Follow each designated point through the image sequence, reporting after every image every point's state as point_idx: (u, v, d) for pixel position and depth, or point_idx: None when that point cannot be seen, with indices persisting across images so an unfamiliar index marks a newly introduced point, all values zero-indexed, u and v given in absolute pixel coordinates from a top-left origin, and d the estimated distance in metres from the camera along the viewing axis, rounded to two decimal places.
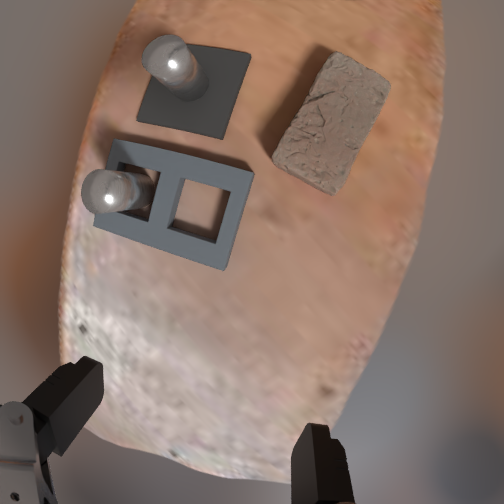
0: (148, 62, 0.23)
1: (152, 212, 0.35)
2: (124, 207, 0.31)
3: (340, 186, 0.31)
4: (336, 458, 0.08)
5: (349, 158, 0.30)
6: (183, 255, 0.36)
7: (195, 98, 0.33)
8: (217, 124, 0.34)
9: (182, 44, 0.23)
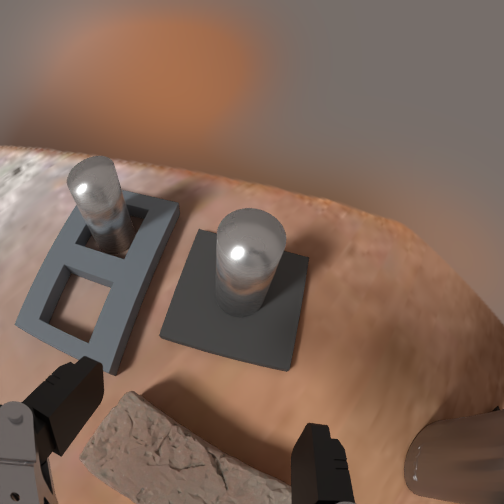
0: (239, 217, 0.21)
1: (83, 248, 0.28)
2: (79, 210, 0.25)
3: (87, 466, 0.16)
4: (336, 458, 0.08)
5: (123, 489, 0.15)
6: (35, 281, 0.25)
7: (217, 300, 0.27)
8: (178, 330, 0.26)
9: (264, 261, 0.19)
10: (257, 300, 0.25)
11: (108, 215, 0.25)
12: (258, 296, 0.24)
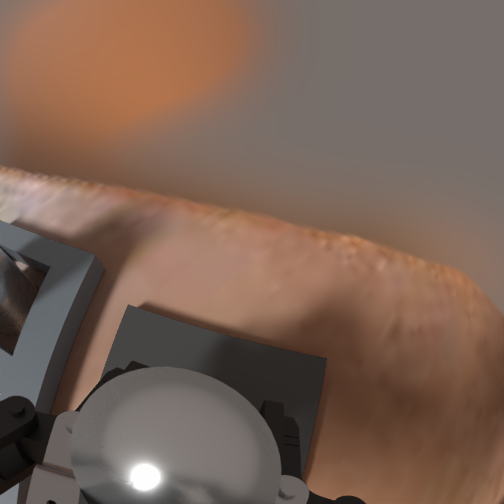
0: (130, 402, 0.05)
1: None
2: None
3: None
4: (288, 435, 0.09)
5: None
6: None
7: None
8: None
9: None
10: None
11: None
12: None
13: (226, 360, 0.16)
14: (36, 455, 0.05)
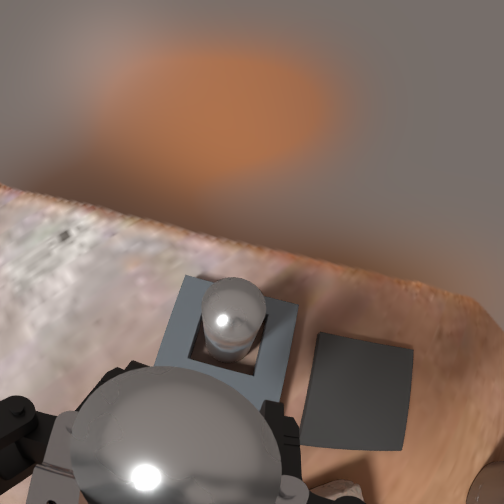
0: (130, 401, 0.05)
1: (200, 364, 0.26)
2: (208, 337, 0.23)
3: None
4: (288, 435, 0.09)
5: None
6: None
7: None
8: (315, 437, 0.24)
9: None
10: None
11: (249, 343, 0.23)
12: None
13: (372, 355, 0.29)
14: (36, 455, 0.05)
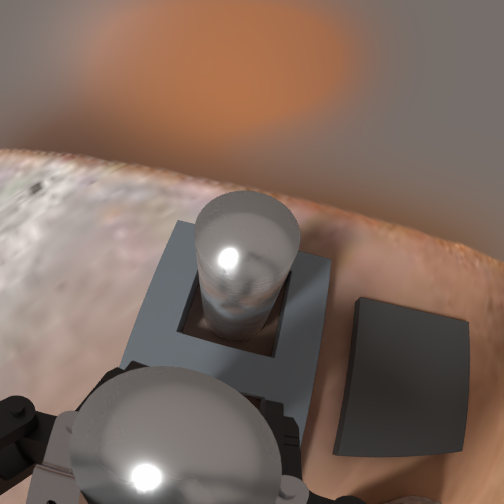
0: (130, 401, 0.05)
1: (195, 341, 0.18)
2: (206, 292, 0.15)
3: None
4: (288, 435, 0.09)
5: None
6: None
7: None
8: (360, 443, 0.16)
9: None
10: None
11: (270, 301, 0.15)
12: None
13: (425, 328, 0.21)
14: (36, 455, 0.05)
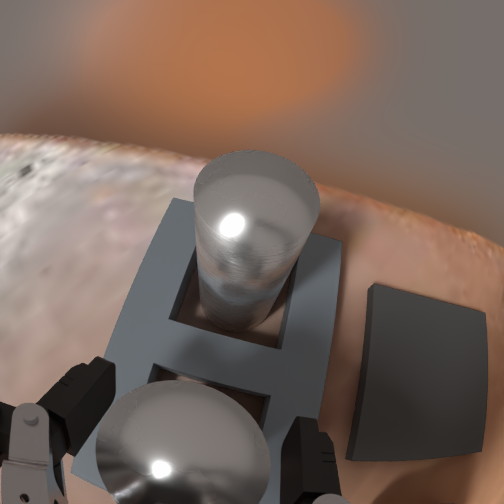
0: (147, 409, 0.07)
1: (190, 330, 0.16)
2: (206, 269, 0.13)
3: None
4: (324, 451, 0.08)
5: None
6: None
7: None
8: (377, 446, 0.14)
9: None
10: None
11: (280, 281, 0.13)
12: None
13: (443, 318, 0.19)
14: None
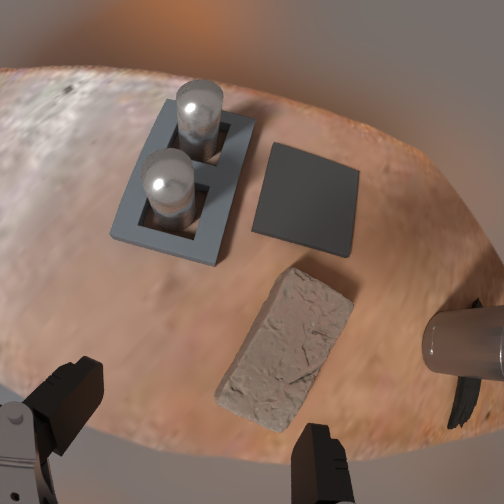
0: (158, 156, 0.24)
1: None
2: (181, 126, 0.29)
3: (288, 275, 0.30)
4: (336, 458, 0.08)
5: (278, 306, 0.29)
6: (126, 191, 0.31)
7: None
8: (267, 224, 0.34)
9: (173, 191, 0.24)
10: (183, 218, 0.30)
11: (211, 130, 0.29)
12: (182, 215, 0.29)
13: (319, 166, 0.37)
14: None
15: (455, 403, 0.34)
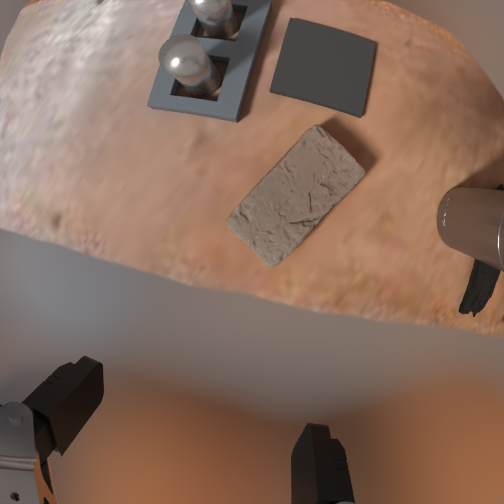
0: (171, 42, 0.25)
1: (198, 39, 0.31)
2: (196, 14, 0.27)
3: (310, 129, 0.31)
4: (336, 458, 0.08)
5: (295, 153, 0.32)
6: (159, 70, 0.33)
7: None
8: (283, 86, 0.33)
9: (185, 65, 0.25)
10: (205, 84, 0.31)
11: (223, 13, 0.27)
12: (203, 82, 0.31)
13: (335, 37, 0.31)
14: None
15: (468, 286, 0.37)
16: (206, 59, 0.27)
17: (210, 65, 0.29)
